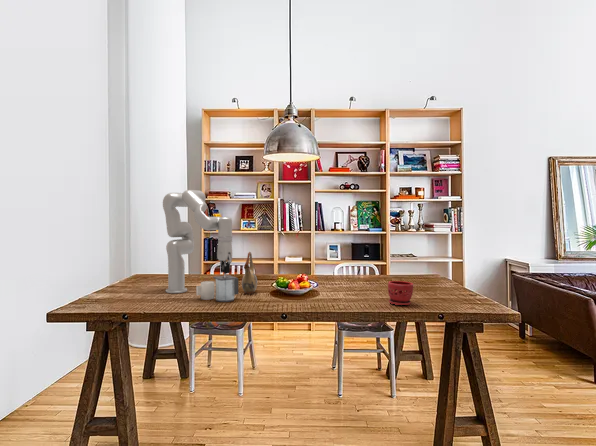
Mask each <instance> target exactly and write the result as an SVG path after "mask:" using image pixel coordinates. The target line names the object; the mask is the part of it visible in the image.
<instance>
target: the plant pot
mask: <svg viewBox="0 0 596 446" xmlns="http://www.w3.org/2000/svg"><path fill="white" fill-rule="evenodd" d="M387 290H388V292H387V293H388V297H389V299H388V302H389V304H390V303H391V305H392V304H395V305H408V306H409V304H410V305H411V303H412V301H411V299H412V298H413V297H412V296H413V293H414V283H413V282H411V281H410V282H409V281H403V280H391V281H389V280H388V283H387ZM395 305H394V306H395Z"/></svg>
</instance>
